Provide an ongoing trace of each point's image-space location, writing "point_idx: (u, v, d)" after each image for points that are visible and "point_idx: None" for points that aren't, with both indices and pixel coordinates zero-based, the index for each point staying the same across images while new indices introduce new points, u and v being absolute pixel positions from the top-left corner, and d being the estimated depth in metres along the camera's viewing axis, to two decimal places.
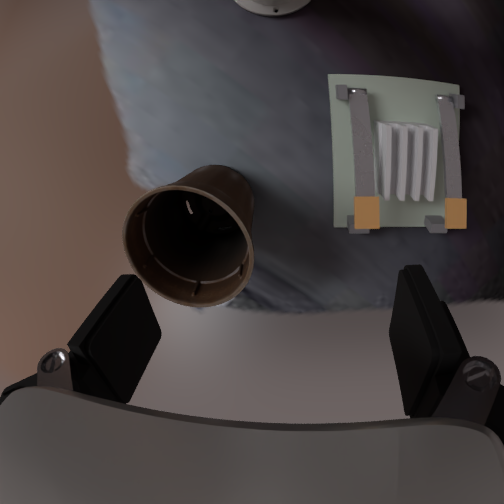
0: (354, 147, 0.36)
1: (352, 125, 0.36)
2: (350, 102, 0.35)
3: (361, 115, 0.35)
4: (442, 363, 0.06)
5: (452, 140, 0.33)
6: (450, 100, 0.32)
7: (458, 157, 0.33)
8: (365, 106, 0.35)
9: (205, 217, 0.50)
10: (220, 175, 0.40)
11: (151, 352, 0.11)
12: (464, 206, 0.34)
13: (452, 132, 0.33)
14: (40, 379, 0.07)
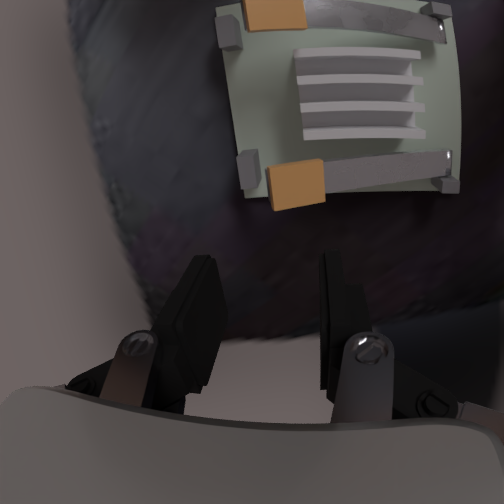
0: (372, 5, 0.17)
1: (400, 10, 0.17)
2: (427, 17, 0.17)
3: (415, 26, 0.18)
4: (332, 335, 0.07)
5: (402, 170, 0.24)
6: (446, 170, 0.25)
7: (381, 181, 0.24)
8: (427, 35, 0.18)
9: None
10: None
11: (222, 334, 0.12)
12: (312, 199, 0.22)
13: (412, 170, 0.24)
14: (117, 359, 0.07)
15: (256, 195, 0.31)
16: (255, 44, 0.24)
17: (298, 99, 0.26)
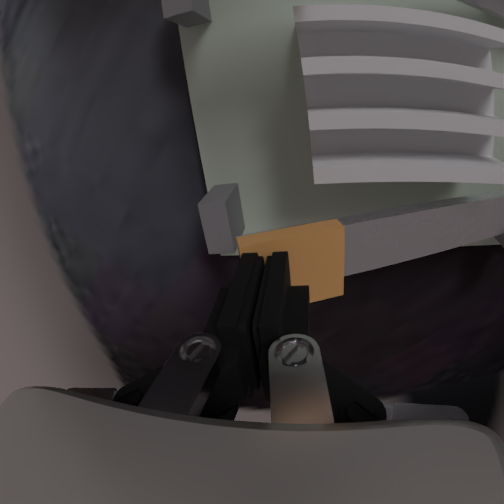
0: None
1: None
2: None
3: None
4: (261, 335, 0.08)
5: (467, 228, 0.13)
6: None
7: (435, 249, 0.14)
8: None
9: None
10: None
11: None
12: (319, 293, 0.13)
13: (480, 226, 0.13)
14: (171, 361, 0.07)
15: (237, 252, 0.21)
16: (230, 13, 0.13)
17: (303, 101, 0.15)
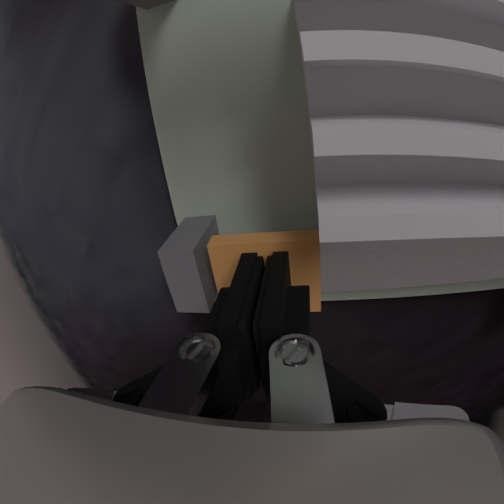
0: None
1: None
2: None
3: None
4: (262, 335, 0.08)
5: (489, 261, 0.11)
6: None
7: (445, 279, 0.11)
8: None
9: None
10: None
11: None
12: None
13: None
14: (171, 361, 0.07)
15: None
16: None
17: (304, 105, 0.11)
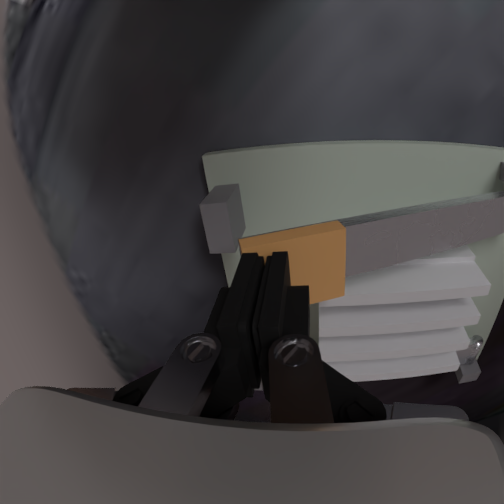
0: (448, 208, 0.13)
1: (482, 201, 0.13)
2: None
3: (493, 221, 0.14)
4: (261, 335, 0.08)
5: None
6: (469, 359, 0.21)
7: None
8: (502, 227, 0.14)
9: None
10: None
11: None
12: None
13: None
14: (171, 361, 0.07)
15: None
16: (262, 222, 0.20)
17: None
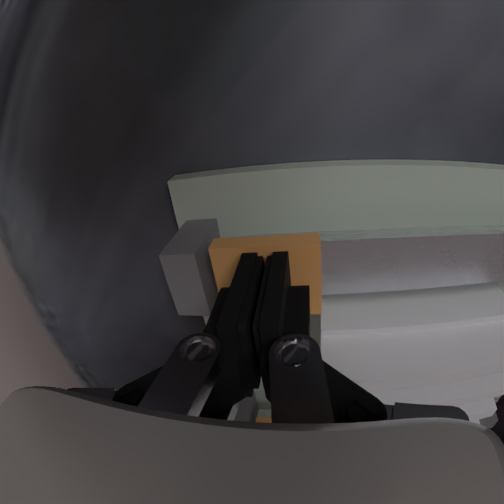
0: (467, 237, 0.10)
1: None
2: None
3: None
4: (262, 335, 0.08)
5: None
6: None
7: None
8: None
9: None
10: None
11: None
12: None
13: None
14: (171, 361, 0.07)
15: None
16: None
17: None
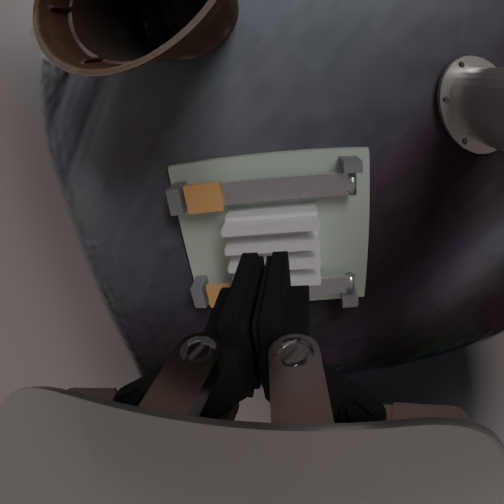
0: (279, 178, 0.32)
1: (307, 176, 0.32)
2: (336, 175, 0.31)
3: (320, 187, 0.32)
4: (261, 335, 0.08)
5: None
6: (348, 290, 0.38)
7: None
8: (332, 192, 0.32)
9: (160, 3, 0.25)
10: (230, 13, 0.22)
11: None
12: None
13: (312, 290, 0.38)
14: (171, 361, 0.07)
15: (208, 303, 0.44)
16: None
17: None
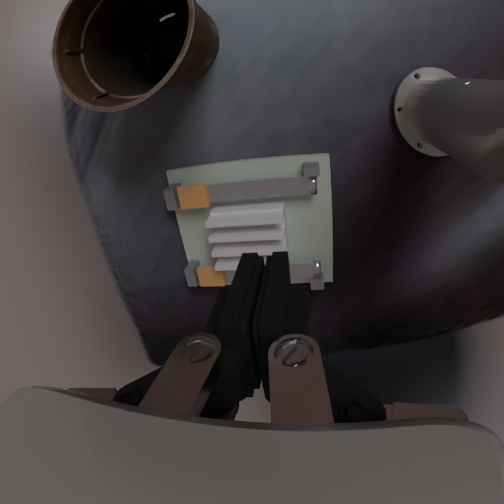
0: (252, 181, 0.40)
1: (274, 179, 0.39)
2: (298, 178, 0.39)
3: (286, 188, 0.40)
4: (261, 335, 0.08)
5: None
6: (315, 274, 0.46)
7: None
8: (296, 192, 0.40)
9: (156, 36, 0.33)
10: (207, 49, 0.29)
11: None
12: (218, 284, 0.48)
13: None
14: (171, 361, 0.07)
15: None
16: None
17: None
